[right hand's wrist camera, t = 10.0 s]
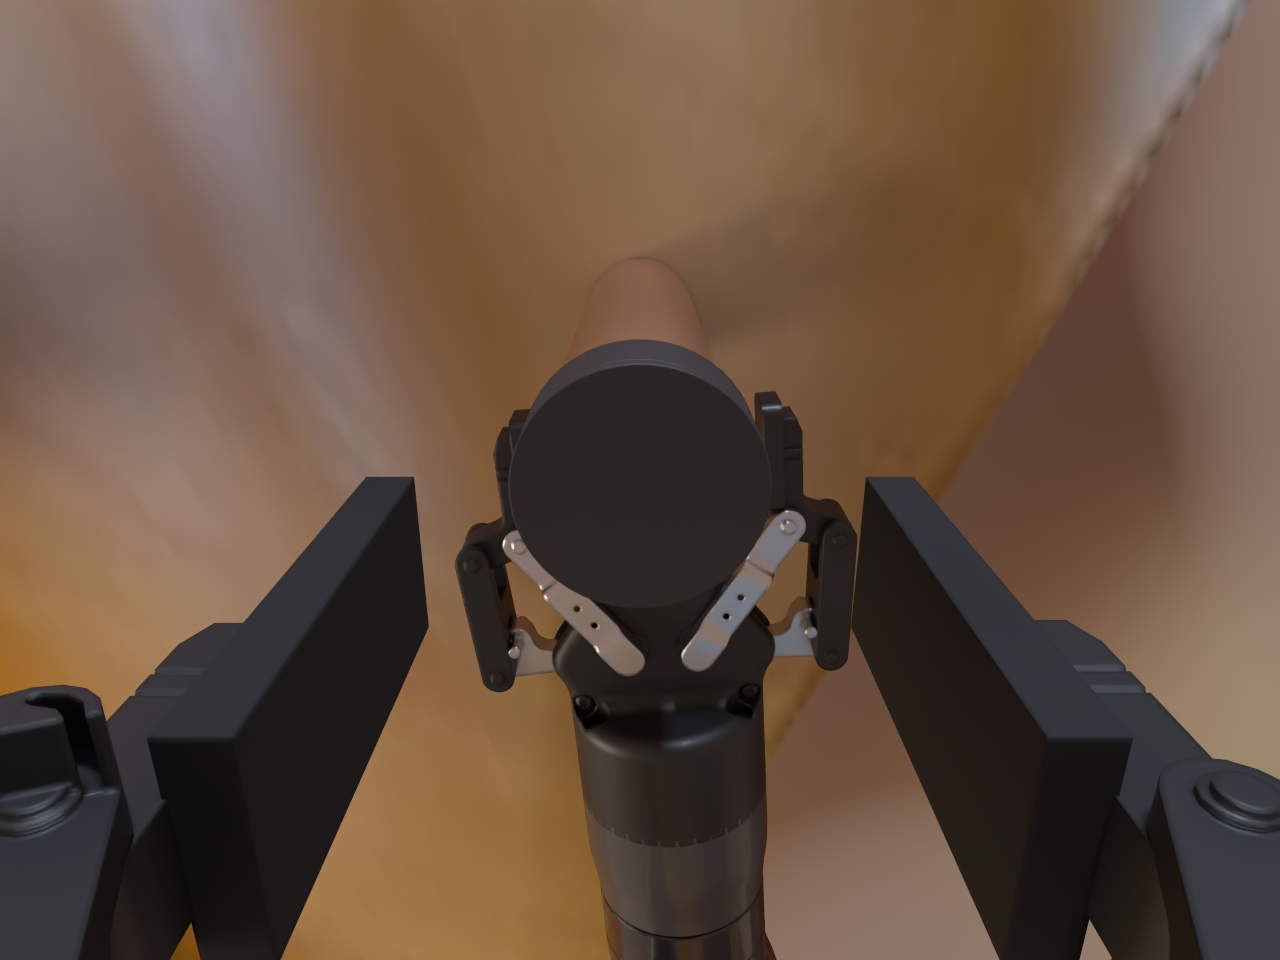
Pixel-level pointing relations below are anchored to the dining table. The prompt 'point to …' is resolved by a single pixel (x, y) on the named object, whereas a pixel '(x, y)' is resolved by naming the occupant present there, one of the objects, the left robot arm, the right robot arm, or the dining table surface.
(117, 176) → the dining table surface
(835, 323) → the dining table surface
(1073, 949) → the right robot arm
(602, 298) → the pinkish brown rounded rod
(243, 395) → the dining table surface
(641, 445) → the lid
